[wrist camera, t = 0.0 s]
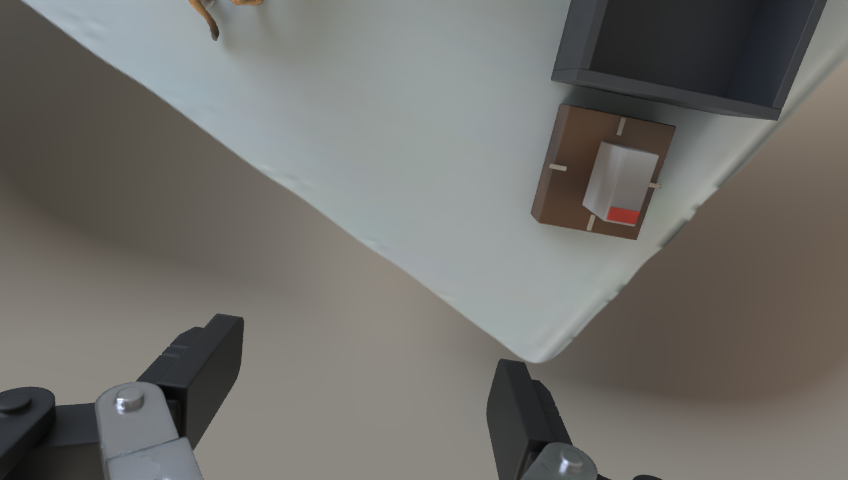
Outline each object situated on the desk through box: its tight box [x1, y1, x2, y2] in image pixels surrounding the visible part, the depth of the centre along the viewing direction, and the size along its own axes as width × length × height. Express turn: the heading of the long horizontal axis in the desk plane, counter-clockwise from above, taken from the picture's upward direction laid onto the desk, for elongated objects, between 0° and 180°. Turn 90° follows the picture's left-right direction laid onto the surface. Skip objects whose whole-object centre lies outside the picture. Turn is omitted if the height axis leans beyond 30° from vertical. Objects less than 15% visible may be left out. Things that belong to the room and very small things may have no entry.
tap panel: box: [531, 104, 676, 240], centre depth 41 cm, size 10×10×3 cm
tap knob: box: [582, 141, 659, 226], centre depth 37 cm, size 6×2×5 cm, turn 169°
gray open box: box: [551, 0, 827, 121], centre depth 35 cm, size 14×16×7 cm
